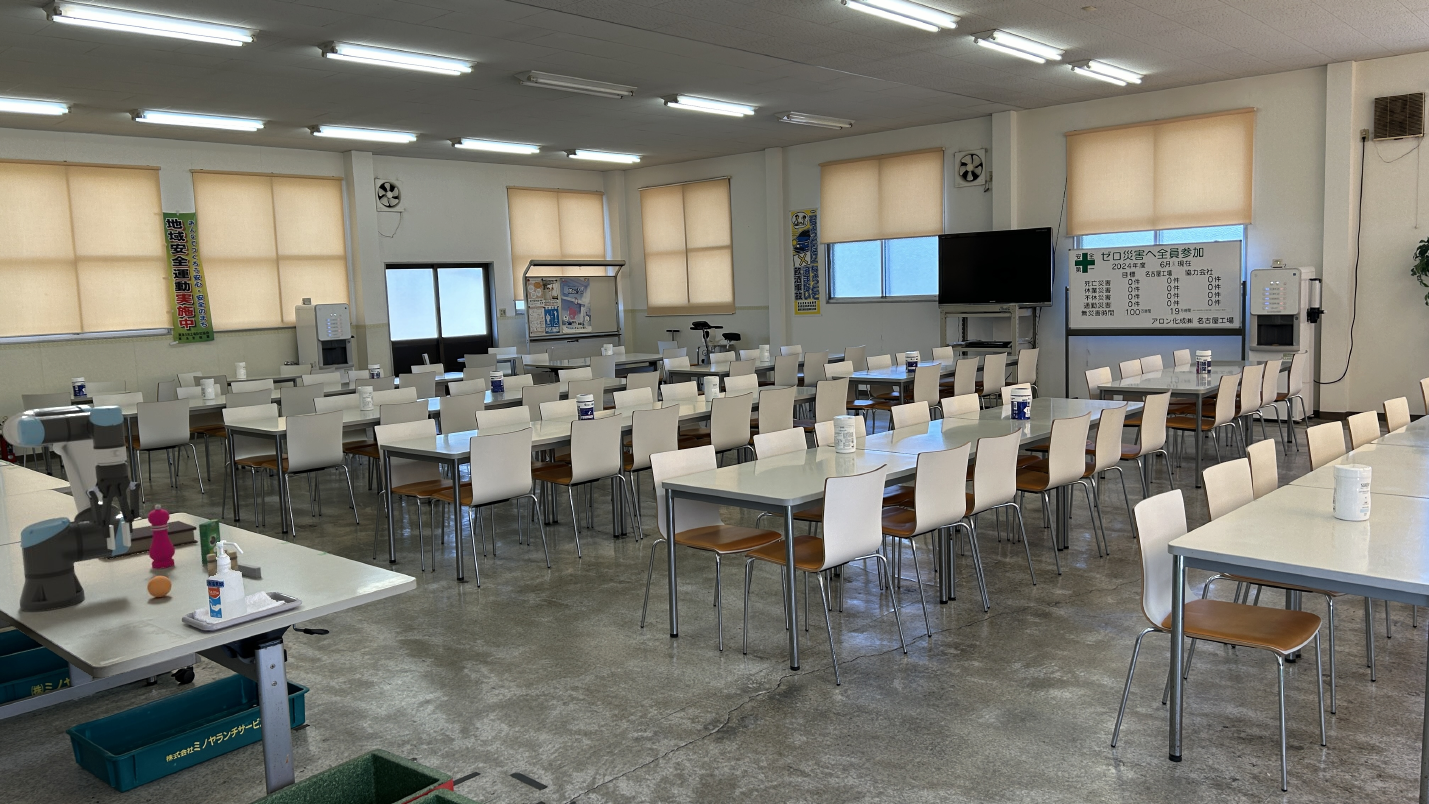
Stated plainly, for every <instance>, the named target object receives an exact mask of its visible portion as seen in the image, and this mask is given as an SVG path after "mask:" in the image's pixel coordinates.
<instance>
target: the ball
mask: <svg viewBox="0 0 1429 804" xmlns="http://www.w3.org/2000/svg"><path fill="white" fill-rule="evenodd" d="M146 589H147V592H148V593H149V594H150V596H152V597H154V598H163V597H165V596H167V595H168V594H169V593H170V592H171V589H172V581H171V580H170V579H169V578H168V577H167V576H164V575H156V576H154V577H152V578H151V579H150V580H149V581H148V583H147V587H146Z"/></svg>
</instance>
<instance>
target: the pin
mask: <svg viewBox="0 0 1429 804" xmlns="http://www.w3.org/2000/svg"><path fill="white" fill-rule="evenodd" d="M228 556H229V557H230V560H231V569H232V570H235V571H238V562H239V561H238V551H236V550H231V551H228Z"/></svg>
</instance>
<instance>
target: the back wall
mask: <svg viewBox="0 0 1429 804" xmlns="http://www.w3.org/2000/svg"><path fill="white" fill-rule="evenodd" d="M237 562H238V571H240V572H242V574H243V575H242V576H246V577H250V578H255V579H259V578H261V577H262V570H261V568H262V567H261V566H257V565H252V564H248V563H244V562H239V561H237Z"/></svg>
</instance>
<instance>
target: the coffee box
mask: <svg viewBox="0 0 1429 804" xmlns="http://www.w3.org/2000/svg"><path fill="white" fill-rule="evenodd" d="M220 530H221V529H220V519H210V520H207V521H206V522H205V521H204V522H202V523H200V524H198V531H199V539H200V540H199V542H200V553H201V554H200V555H201V565H208V564H207V555H209V554H216V557H217V548H216V543H217V542H220V541H221V531H220Z"/></svg>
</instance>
